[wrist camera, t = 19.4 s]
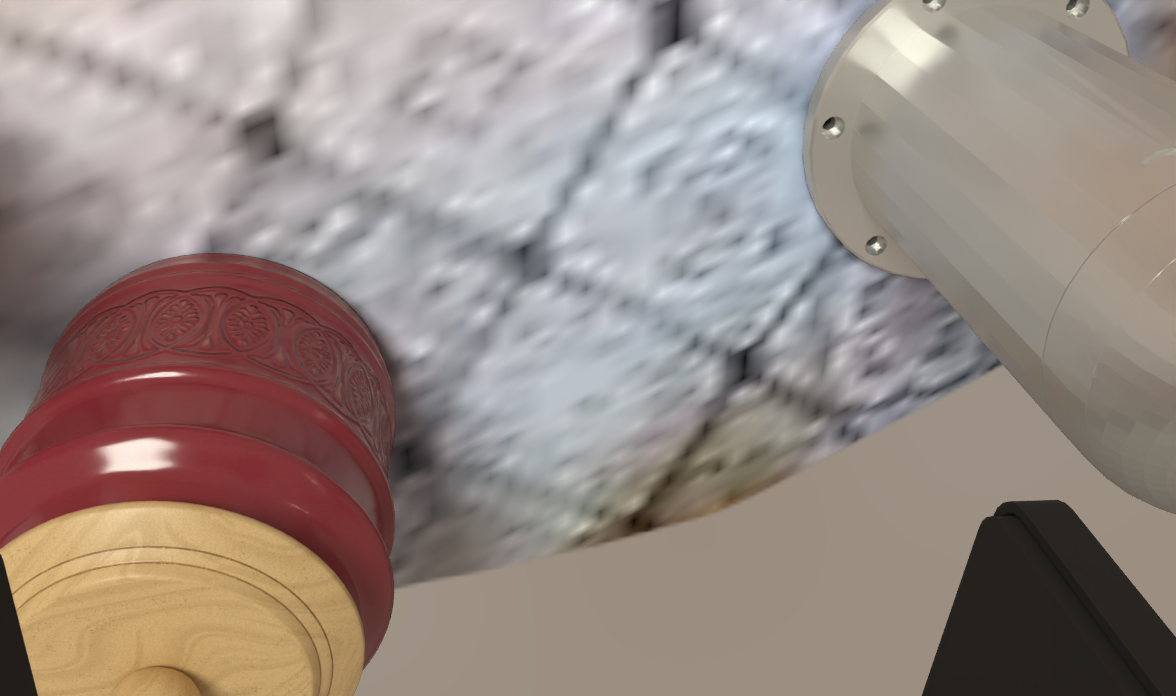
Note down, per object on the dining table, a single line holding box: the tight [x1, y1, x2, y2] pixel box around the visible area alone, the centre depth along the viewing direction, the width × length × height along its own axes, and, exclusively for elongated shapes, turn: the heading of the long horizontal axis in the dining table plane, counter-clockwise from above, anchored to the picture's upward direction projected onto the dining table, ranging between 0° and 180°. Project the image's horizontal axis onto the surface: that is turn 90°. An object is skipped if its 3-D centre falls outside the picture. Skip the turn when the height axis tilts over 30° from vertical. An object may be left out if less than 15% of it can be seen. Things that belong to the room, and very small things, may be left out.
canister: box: [0, 253, 395, 696], centre depth 36 cm, size 13×13×18 cm
